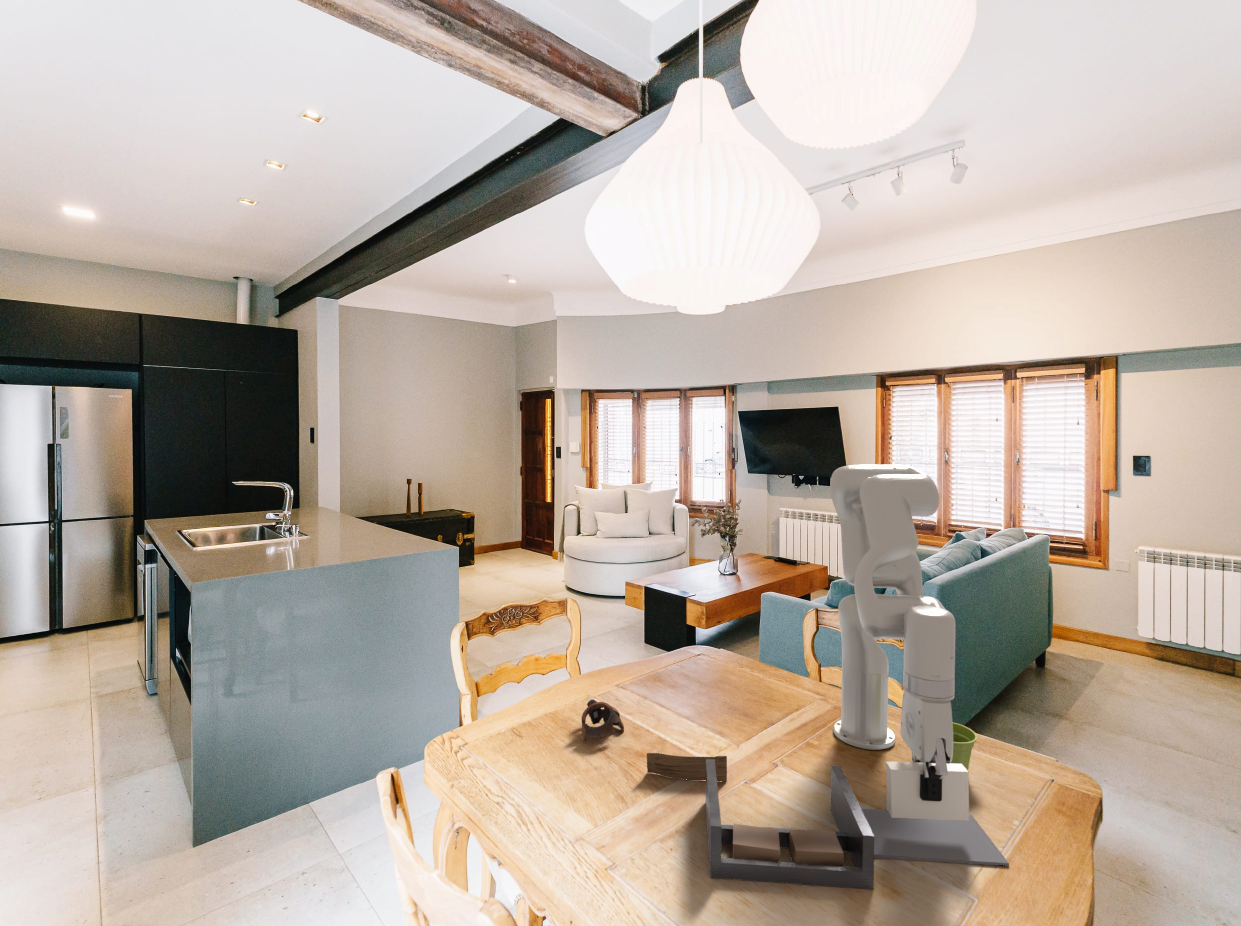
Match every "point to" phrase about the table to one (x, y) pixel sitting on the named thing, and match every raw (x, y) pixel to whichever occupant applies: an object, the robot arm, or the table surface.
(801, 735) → the table surface
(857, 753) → the table surface
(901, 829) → the mat
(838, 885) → the rack
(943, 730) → the robot arm
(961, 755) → the plant pot
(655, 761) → the wood plank
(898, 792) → the white rectangular brick
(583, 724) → the pottery mug
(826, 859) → the offcut
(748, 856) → the offcut
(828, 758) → the table surface
